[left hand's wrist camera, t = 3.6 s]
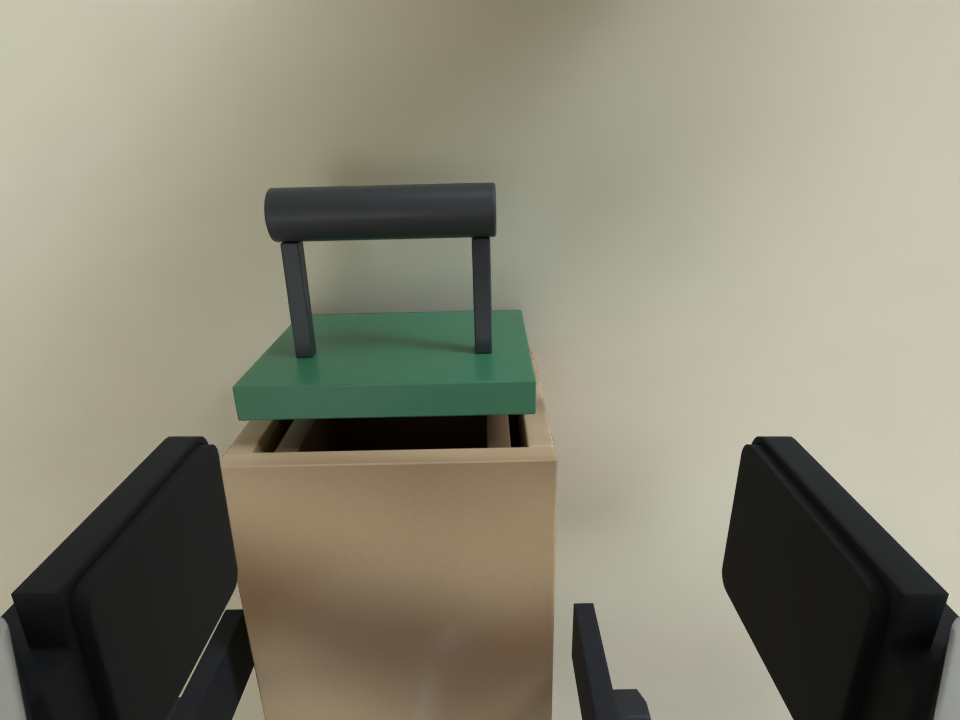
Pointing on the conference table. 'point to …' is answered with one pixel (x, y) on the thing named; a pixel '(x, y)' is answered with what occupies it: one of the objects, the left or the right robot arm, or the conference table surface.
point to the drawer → (389, 334)
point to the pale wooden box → (398, 575)
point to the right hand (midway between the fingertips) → (411, 632)
